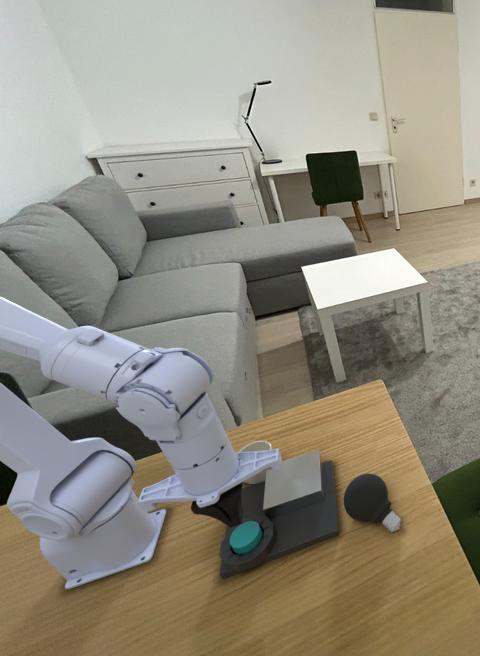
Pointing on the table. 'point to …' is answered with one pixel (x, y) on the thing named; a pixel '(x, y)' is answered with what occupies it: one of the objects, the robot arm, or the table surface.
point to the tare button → (246, 537)
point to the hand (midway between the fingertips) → (236, 519)
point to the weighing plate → (294, 485)
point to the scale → (281, 527)
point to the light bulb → (370, 501)
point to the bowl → (257, 447)
